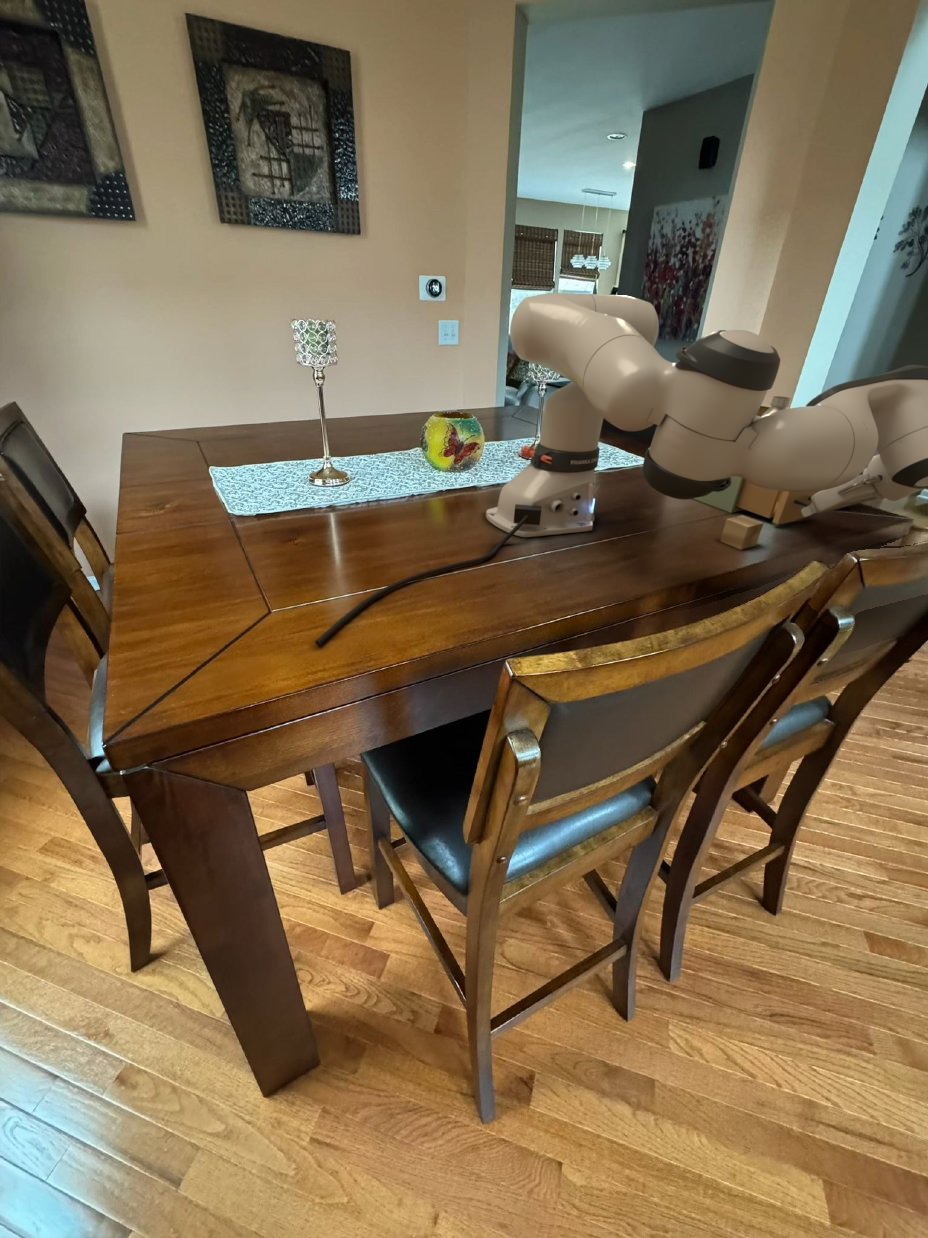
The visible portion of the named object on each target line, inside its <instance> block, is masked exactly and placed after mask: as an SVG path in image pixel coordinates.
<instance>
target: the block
mask: <svg viewBox="0 0 928 1238" xmlns="http://www.w3.org/2000/svg"><path fill="white" fill-rule="evenodd" d="M763 527H764V523H763V522H762V521H759V520H756V519H754V518H751V517H749V516H745V515H743V514H741V515H738V516H733V517H729V518H726V521H725V524H724V527H723V529H722V533H721V537H720V539H719V542H721V543H723V544H726V545H728V546H730V547H733V548H735V549H737V550H739V551H742V550H744V549H749V548H753V547H756V546H757V543H758V542H759V541H758V540H759V537H760V535H761V532H762V529H763Z"/></svg>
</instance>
